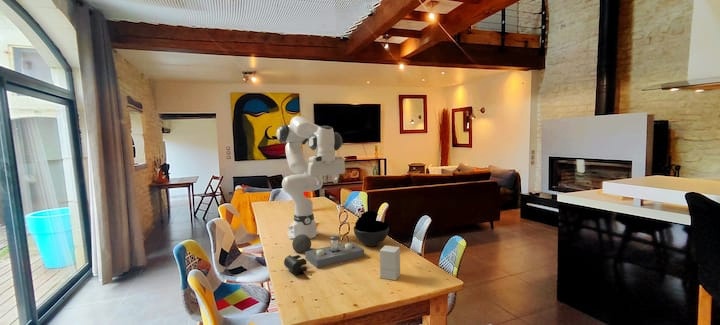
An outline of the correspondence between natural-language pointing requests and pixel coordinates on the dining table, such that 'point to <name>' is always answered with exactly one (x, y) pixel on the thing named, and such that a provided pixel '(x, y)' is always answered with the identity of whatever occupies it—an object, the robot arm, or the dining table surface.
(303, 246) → the decorative ball
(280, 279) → the dining table surface
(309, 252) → the block
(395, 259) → the supplement box
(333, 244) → the steel plug
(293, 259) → the end cap
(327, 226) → the dining table surface
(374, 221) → the coal bowl
